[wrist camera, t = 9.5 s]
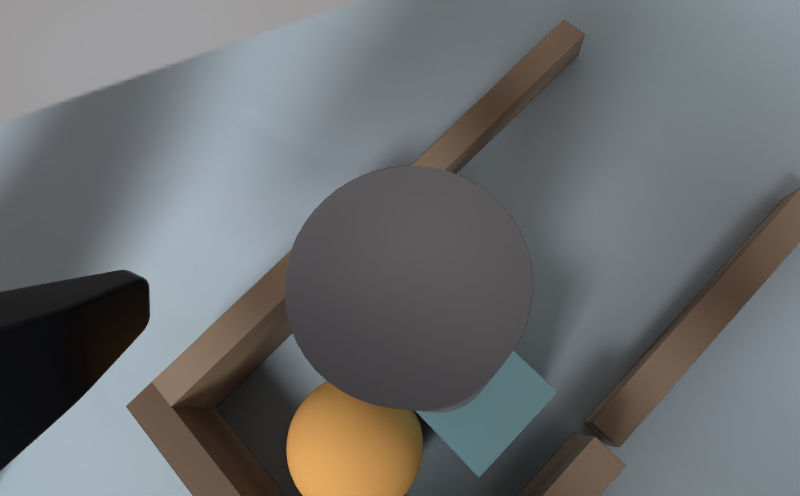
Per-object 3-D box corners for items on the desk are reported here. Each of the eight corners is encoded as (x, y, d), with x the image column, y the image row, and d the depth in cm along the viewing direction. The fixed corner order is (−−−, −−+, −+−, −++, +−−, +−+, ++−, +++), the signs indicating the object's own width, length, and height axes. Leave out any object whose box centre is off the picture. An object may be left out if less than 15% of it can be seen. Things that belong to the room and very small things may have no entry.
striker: (473, 469, 17) (494, 568, 6) (344, 333, 18) (175, 215, 8) (542, 393, 17) (682, 356, 6) (410, 268, 19) (340, 67, 8)
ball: (367, 538, 13) (468, 427, 15) (261, 412, 14) (370, 327, 16) (339, 563, 16) (427, 468, 18) (254, 458, 17) (347, 381, 19)
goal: (395, 686, 16) (380, 747, 13) (176, 408, 19) (125, 406, 16) (810, 216, 18) (873, 180, 16) (558, 40, 22) (573, -17, 19)
